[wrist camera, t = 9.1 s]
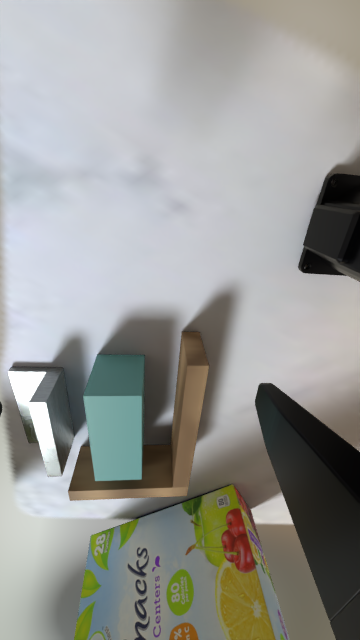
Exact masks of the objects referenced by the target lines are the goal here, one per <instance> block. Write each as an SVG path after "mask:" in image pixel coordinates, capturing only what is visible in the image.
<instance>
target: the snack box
mask: <svg viewBox="0 0 360 640" xmlns="http://www.w3.org/2000/svg"><path fill="white" fill-rule="evenodd" d="M74 640H289V637H288V633H287V630H286V626H285V623H284V620H283V616H282V613H281V610H280V607H279V603H278V600H277V596H276V593H275V590H274V586H273V583H272V580H271V577H270V573H269V570H268V566H267V563H266V559H265V556H264V553H263V550H262V546H261V543H260V540H259V536H258V533H257V529H256V526H255V523H254V519H253V516H252V512H251V510H250V508H249V507H248V505H247V504H246V502H245V501H244V499H243V498H242V496H241V495H240V494H239V492H238V491H237V489H236V488H235V486H234V485H233V484H231V485H230V486H227V487H224V488H222V489H219V490H216V491H214V492H211V493H208V494H206V495H203V496H200V497H197V498H195V499H192V500H189V501H186V502H183V503H181V504H178V505H175V506H172V507H169V508H167V509H164V510H161V511H158V512H156V513H153V514H150V515H147V516H144V517H141V518H139V519H136V520H133V521H130V522H127V523H125V524H122V525H119V526H117V527H113V528H111V529H108V530H105V531H102V532H100V533H97V534H94V535H92V536H91V538H90V544H89V551H88V557H87V563H86V569H85V575H84V581H83V587H82V593H81V599H80V606H79V612H78V618H77V624H76V631H75V637H74Z"/></svg>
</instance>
